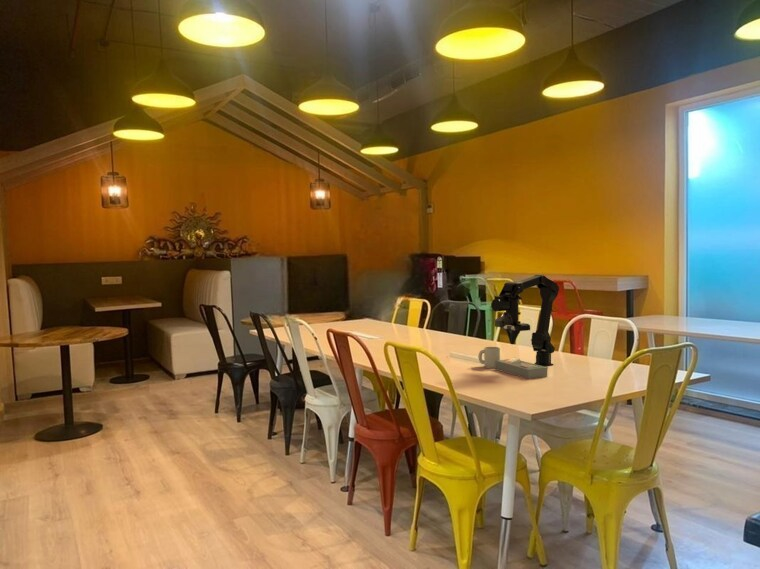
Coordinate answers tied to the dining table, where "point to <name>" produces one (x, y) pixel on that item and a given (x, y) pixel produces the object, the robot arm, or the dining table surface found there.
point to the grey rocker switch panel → (521, 369)
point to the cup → (489, 356)
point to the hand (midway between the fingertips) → (512, 344)
